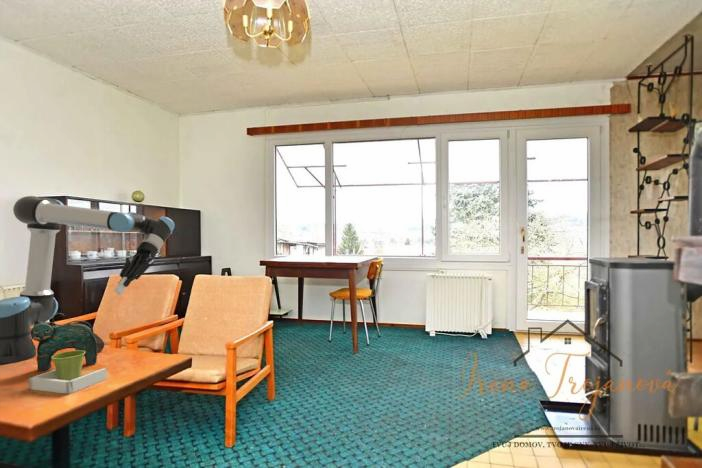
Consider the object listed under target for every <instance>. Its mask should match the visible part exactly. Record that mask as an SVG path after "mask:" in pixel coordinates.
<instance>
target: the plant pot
mask: <svg viewBox="0 0 702 468" xmlns="http://www.w3.org/2000/svg"><path fill="white" fill-rule="evenodd" d="M84 354H85V351H82V350H76V351H75V350H69V351H64V352H59V353H55V354H54V355H53V356H52V357H51V358H52V361H53V364H54V368H55V369H56V373H57V378H58V379H59V380H68V381H70V380H73V379H76V378H78V377H81V376H82V369H83V361H84V360H83V359H85V356H84Z"/></svg>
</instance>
